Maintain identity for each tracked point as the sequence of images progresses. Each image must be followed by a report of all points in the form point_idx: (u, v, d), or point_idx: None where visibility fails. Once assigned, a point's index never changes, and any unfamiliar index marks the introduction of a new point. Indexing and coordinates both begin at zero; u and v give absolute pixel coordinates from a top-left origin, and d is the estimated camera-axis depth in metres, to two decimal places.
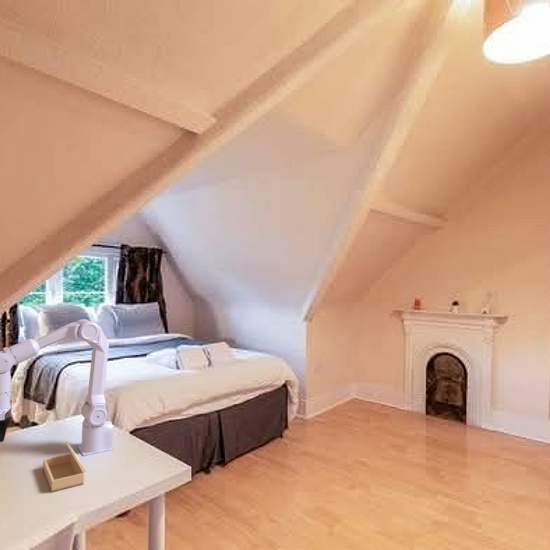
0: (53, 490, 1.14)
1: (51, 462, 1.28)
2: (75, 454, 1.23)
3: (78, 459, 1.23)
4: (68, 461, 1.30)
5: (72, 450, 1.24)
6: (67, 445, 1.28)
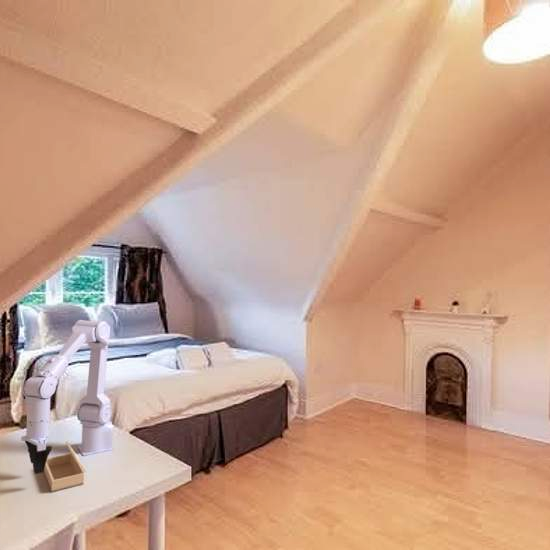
0: (53, 490, 1.14)
1: (51, 462, 1.28)
2: (75, 454, 1.23)
3: (78, 459, 1.23)
4: (68, 461, 1.30)
5: (72, 450, 1.24)
6: (67, 445, 1.28)
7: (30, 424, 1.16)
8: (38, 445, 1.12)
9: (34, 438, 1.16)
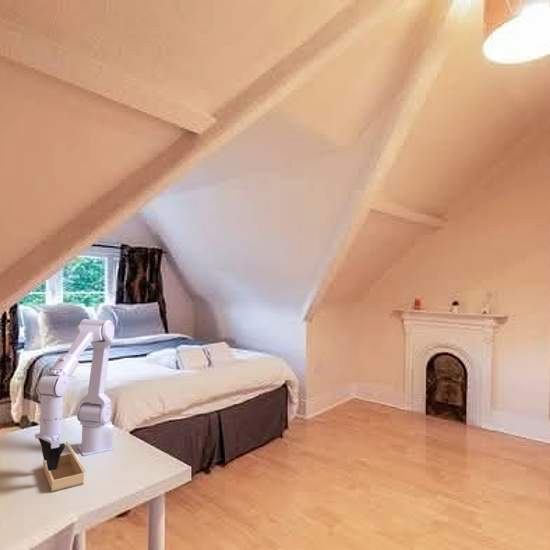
0: (53, 490, 1.14)
1: None
2: (75, 454, 1.23)
3: (78, 459, 1.23)
4: (68, 461, 1.30)
5: (72, 450, 1.24)
6: (67, 445, 1.28)
7: (44, 422, 1.18)
8: (52, 442, 1.14)
9: (48, 436, 1.18)
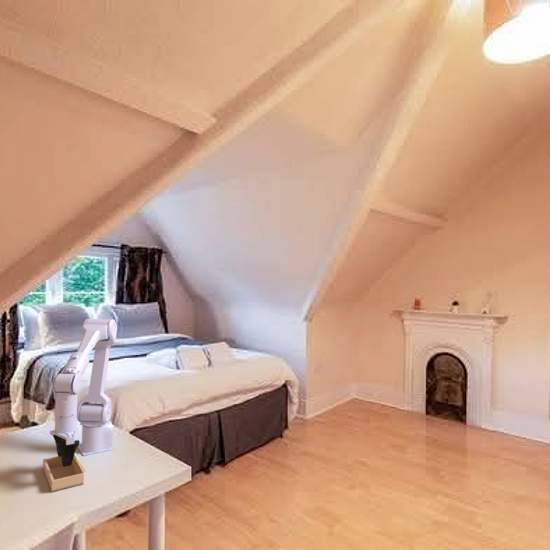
0: (53, 490, 1.14)
1: (51, 462, 1.28)
2: (75, 454, 1.23)
3: (78, 459, 1.23)
4: None
5: None
6: None
7: (59, 419, 1.20)
8: (67, 439, 1.17)
9: (62, 432, 1.20)
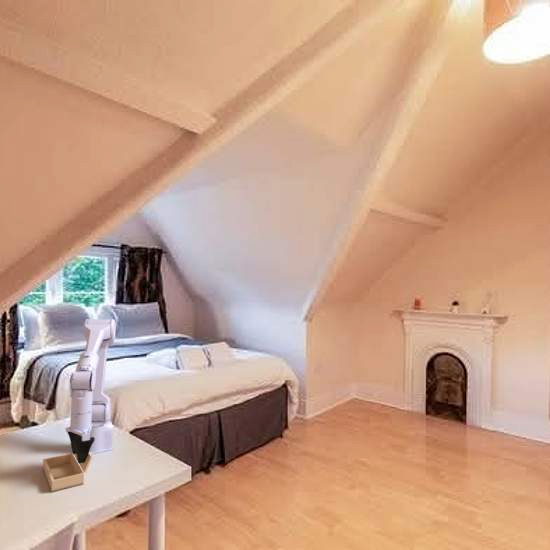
0: (53, 490, 1.14)
1: (51, 462, 1.28)
2: None
3: None
4: (68, 461, 1.30)
5: None
6: None
7: (74, 416, 1.23)
8: (83, 435, 1.19)
9: (78, 429, 1.22)
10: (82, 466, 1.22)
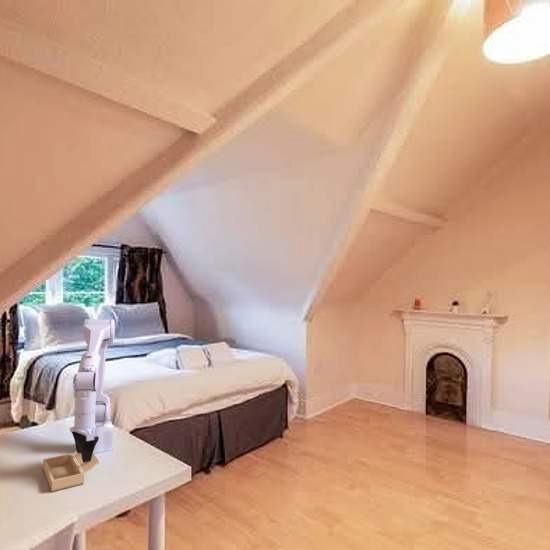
0: (53, 490, 1.14)
1: (51, 462, 1.28)
2: None
3: (87, 462, 1.24)
4: (68, 461, 1.30)
5: None
6: None
7: (78, 416, 1.23)
8: (87, 435, 1.20)
9: (82, 429, 1.23)
10: (83, 467, 1.22)
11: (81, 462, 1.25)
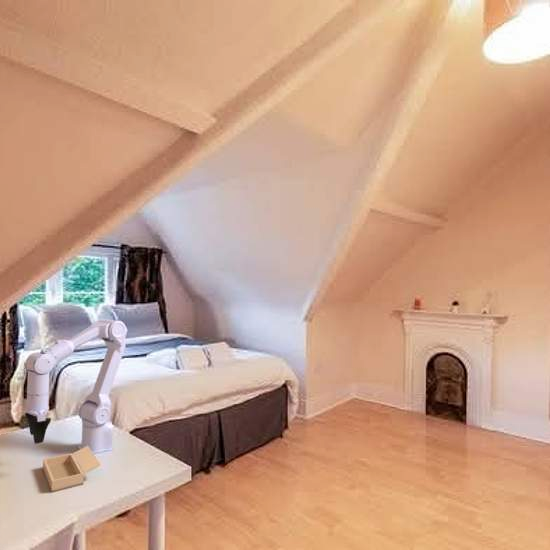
0: (53, 490, 1.14)
1: (51, 462, 1.28)
2: None
3: None
4: (68, 461, 1.30)
5: None
6: None
7: (30, 397, 1.24)
8: (38, 416, 1.20)
9: (34, 410, 1.24)
10: (83, 467, 1.22)
11: (81, 462, 1.25)
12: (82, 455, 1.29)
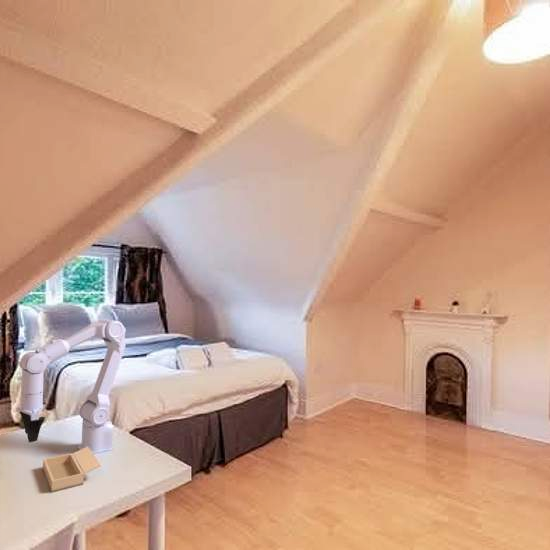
0: (53, 490, 1.14)
1: (51, 462, 1.28)
2: None
3: None
4: (68, 461, 1.30)
5: None
6: None
7: (24, 396, 1.25)
8: (32, 415, 1.21)
9: (28, 409, 1.25)
10: (83, 467, 1.22)
11: (81, 462, 1.25)
12: (82, 455, 1.29)
